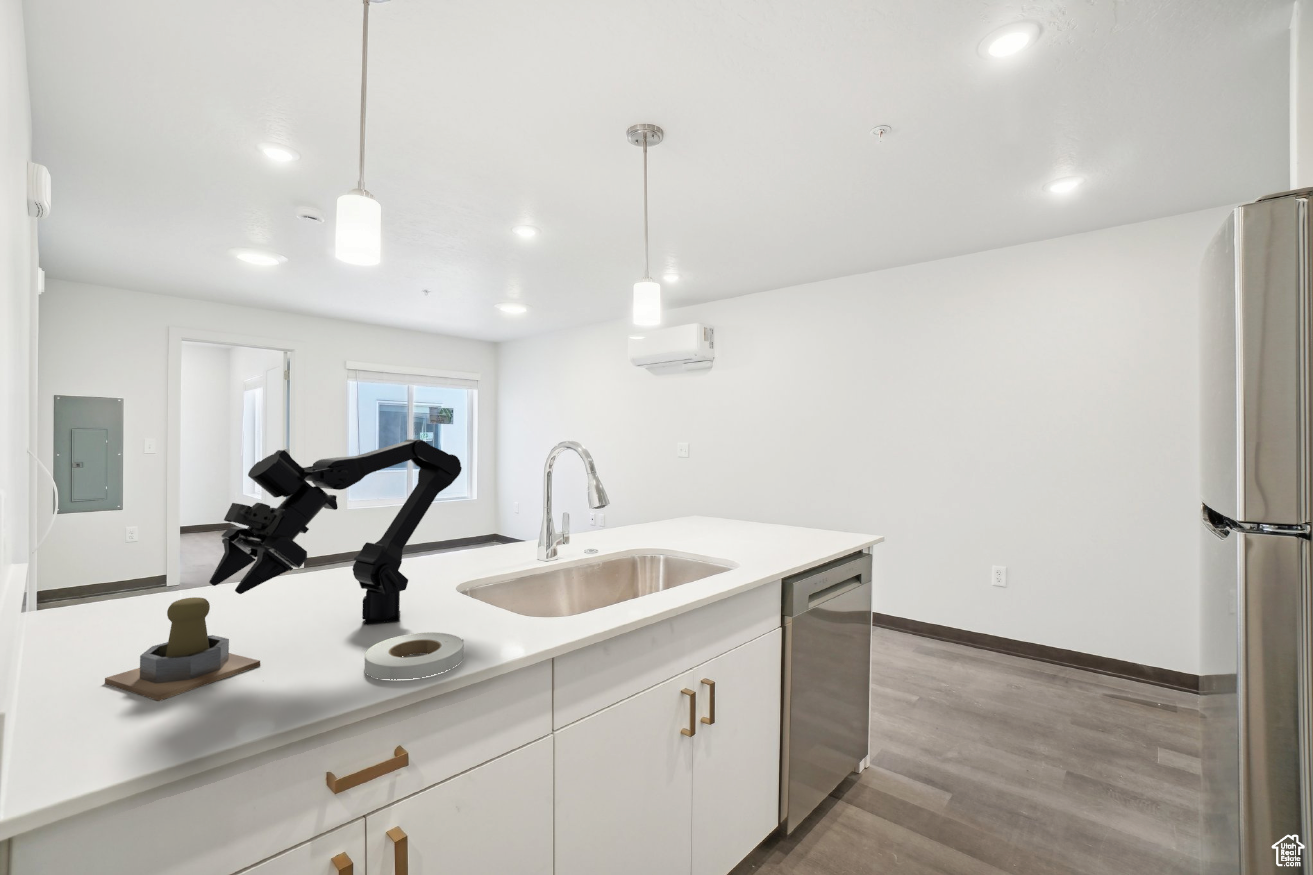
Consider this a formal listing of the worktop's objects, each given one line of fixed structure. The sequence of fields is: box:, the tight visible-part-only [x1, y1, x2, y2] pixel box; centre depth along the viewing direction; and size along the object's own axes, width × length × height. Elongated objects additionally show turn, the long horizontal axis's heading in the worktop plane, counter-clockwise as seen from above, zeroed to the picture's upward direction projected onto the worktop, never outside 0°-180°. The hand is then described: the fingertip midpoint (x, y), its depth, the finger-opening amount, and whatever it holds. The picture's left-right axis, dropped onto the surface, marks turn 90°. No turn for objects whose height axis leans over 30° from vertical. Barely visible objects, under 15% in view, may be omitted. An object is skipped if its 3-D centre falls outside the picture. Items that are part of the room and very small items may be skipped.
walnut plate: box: [104, 652, 261, 702], centre depth 90 cm, size 14×14×1 cm
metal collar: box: [139, 634, 230, 684], centre depth 90 cm, size 10×10×4 cm
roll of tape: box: [364, 632, 465, 680], centre depth 96 cm, size 16×15×3 cm
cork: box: [165, 597, 211, 657], centre depth 90 cm, size 6×6×11 cm
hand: (224, 588), depth 94 cm, fingers open, 9 cm apart
